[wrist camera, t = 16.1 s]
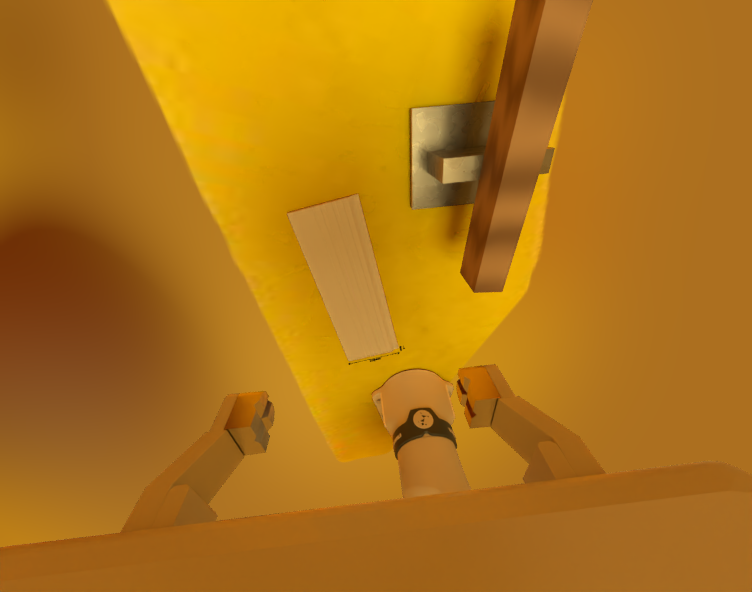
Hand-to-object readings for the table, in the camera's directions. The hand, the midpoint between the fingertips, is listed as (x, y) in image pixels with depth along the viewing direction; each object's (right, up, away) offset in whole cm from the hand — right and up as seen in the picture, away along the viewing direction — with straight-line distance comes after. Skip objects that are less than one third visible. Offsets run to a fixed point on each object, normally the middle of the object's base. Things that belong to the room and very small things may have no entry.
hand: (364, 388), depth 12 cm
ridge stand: (+13, +23, +26) cm, 37 cm away
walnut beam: (+14, +18, +18) cm, 29 cm away
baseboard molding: (-3, +5, +37) cm, 37 cm away
